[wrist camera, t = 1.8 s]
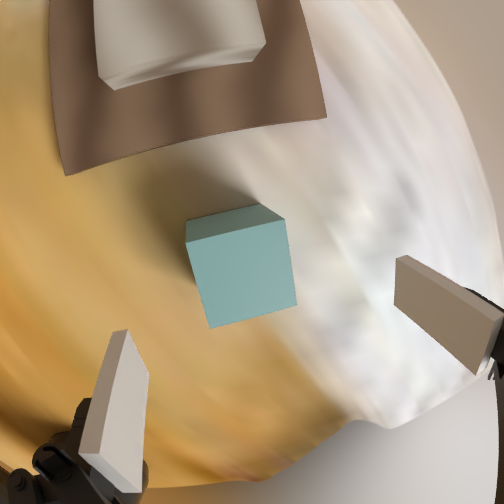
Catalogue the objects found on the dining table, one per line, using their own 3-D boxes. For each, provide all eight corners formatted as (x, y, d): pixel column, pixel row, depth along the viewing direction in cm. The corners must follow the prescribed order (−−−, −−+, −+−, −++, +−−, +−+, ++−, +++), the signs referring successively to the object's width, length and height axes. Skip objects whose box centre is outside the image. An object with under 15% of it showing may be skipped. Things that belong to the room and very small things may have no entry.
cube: (203, 289, 24) (210, 328, 19) (185, 221, 22) (185, 243, 17) (272, 272, 25) (296, 305, 20) (260, 203, 23) (284, 219, 18)
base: (72, 175, 19) (41, 181, 14) (58, -19, 12) (38, -46, 7) (318, 119, 22) (353, 111, 17) (271, -60, 15) (288, -91, 10)
